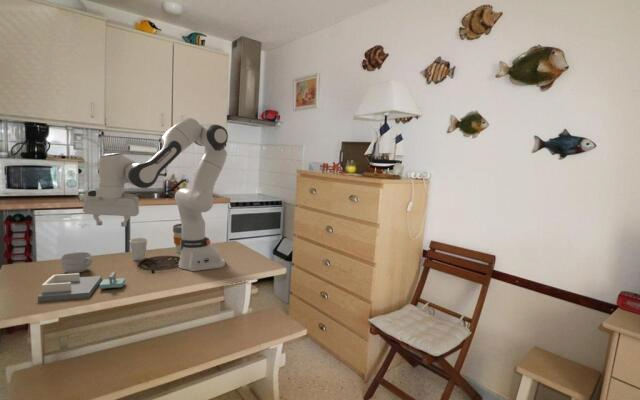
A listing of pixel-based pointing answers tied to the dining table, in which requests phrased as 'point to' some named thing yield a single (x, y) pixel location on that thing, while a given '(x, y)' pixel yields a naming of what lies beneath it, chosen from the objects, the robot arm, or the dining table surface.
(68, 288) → the dock
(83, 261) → the teacup
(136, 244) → the dixie cup
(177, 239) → the reusable coffee cup
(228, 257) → the dining table surface
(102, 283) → the trolley
